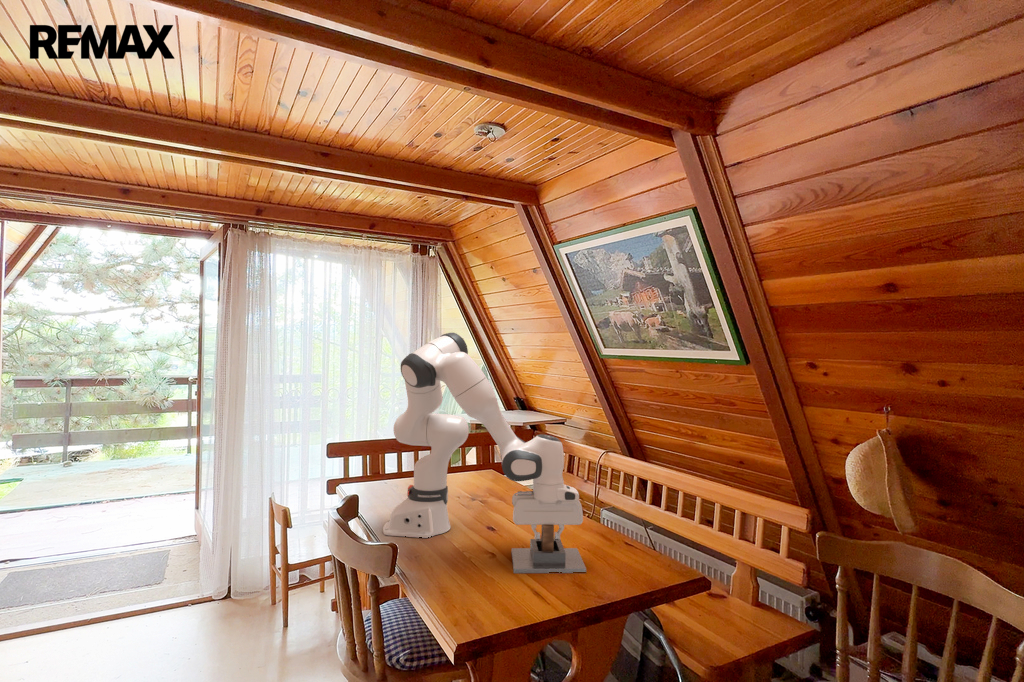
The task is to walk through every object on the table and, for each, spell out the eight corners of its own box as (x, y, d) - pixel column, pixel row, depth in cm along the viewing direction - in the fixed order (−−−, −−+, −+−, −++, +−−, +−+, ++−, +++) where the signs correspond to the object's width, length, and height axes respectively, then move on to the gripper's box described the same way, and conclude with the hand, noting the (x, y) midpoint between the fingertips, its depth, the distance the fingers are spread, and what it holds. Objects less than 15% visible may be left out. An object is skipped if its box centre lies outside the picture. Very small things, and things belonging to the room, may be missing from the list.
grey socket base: (513, 573, 147) (514, 555, 147) (511, 552, 162) (511, 536, 162) (586, 572, 148) (586, 555, 148) (577, 552, 163) (577, 536, 163)
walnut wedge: (542, 561, 152) (543, 526, 152) (541, 554, 157) (541, 520, 157) (553, 561, 152) (553, 526, 152) (551, 554, 157) (551, 520, 157)
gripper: (512, 494, 151) (512, 543, 151) (584, 494, 152) (583, 543, 152) (511, 488, 158) (511, 535, 158) (580, 488, 159) (579, 535, 158)
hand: (547, 539), depth 155 cm, fingers open, 4 cm apart
